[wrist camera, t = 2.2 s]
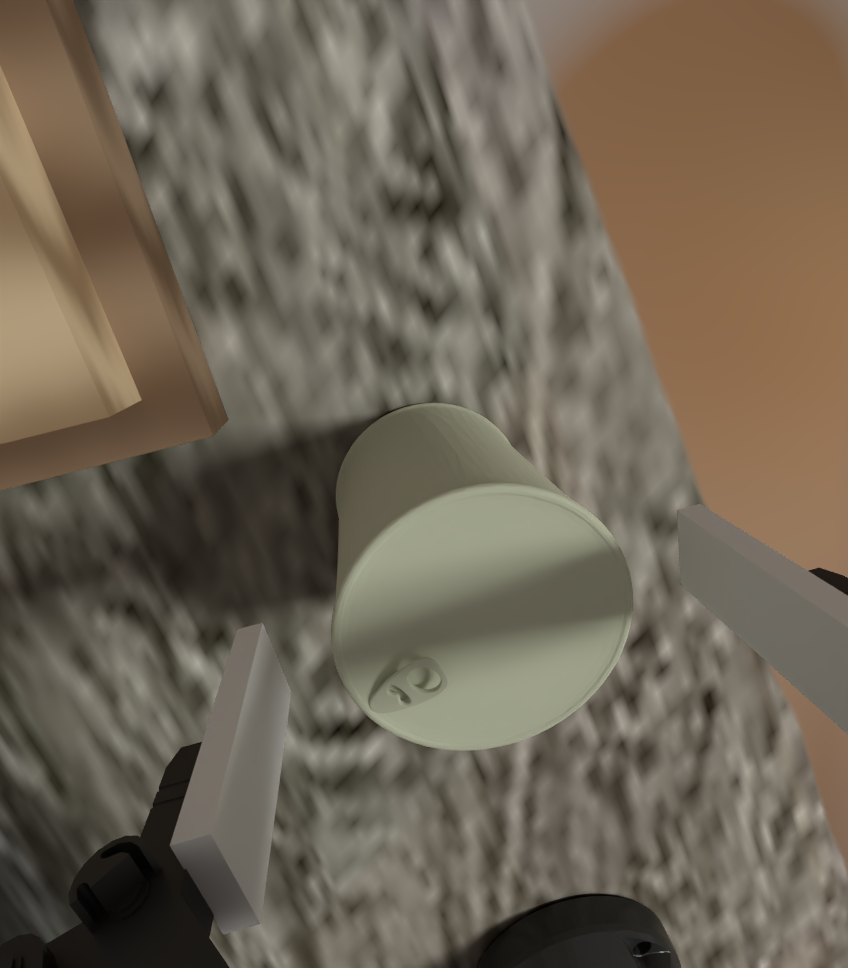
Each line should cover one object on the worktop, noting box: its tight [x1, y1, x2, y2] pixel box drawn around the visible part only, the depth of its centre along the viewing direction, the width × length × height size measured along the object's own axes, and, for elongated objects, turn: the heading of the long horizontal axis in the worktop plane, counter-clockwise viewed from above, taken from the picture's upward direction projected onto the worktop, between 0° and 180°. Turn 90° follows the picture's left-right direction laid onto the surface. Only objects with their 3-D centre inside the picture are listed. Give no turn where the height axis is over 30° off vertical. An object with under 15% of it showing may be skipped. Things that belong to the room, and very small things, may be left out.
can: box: [331, 403, 633, 751], centre depth 21 cm, size 9×9×12 cm
